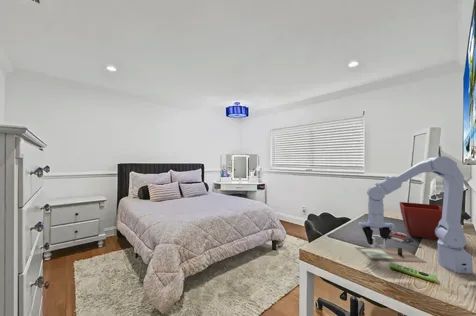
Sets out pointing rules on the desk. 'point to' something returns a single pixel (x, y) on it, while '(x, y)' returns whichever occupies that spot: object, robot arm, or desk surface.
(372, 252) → the stand
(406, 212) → the plant pot
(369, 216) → the robot arm
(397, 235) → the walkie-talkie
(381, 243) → the c link
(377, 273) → the desk surface
